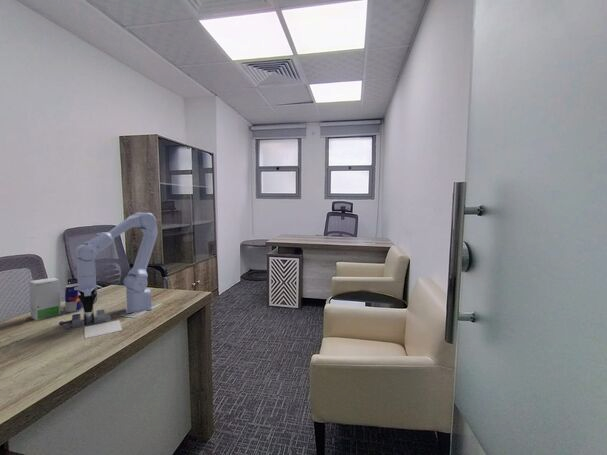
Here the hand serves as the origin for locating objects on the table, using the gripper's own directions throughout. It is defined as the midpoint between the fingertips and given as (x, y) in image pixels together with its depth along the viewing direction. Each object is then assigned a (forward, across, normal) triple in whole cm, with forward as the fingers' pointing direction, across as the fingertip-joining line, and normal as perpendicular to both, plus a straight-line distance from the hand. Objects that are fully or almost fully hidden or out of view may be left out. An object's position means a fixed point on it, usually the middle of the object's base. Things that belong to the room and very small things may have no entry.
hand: (88, 309), depth 111 cm
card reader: (+6, -26, +1) cm, 27 cm away
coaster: (+6, +11, +4) cm, 13 cm away
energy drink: (+6, -18, -5) cm, 20 cm away
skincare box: (+6, -19, -14) cm, 24 cm away
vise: (+6, 0, -1) cm, 6 cm away
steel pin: (+5, 0, 0) cm, 5 cm away
